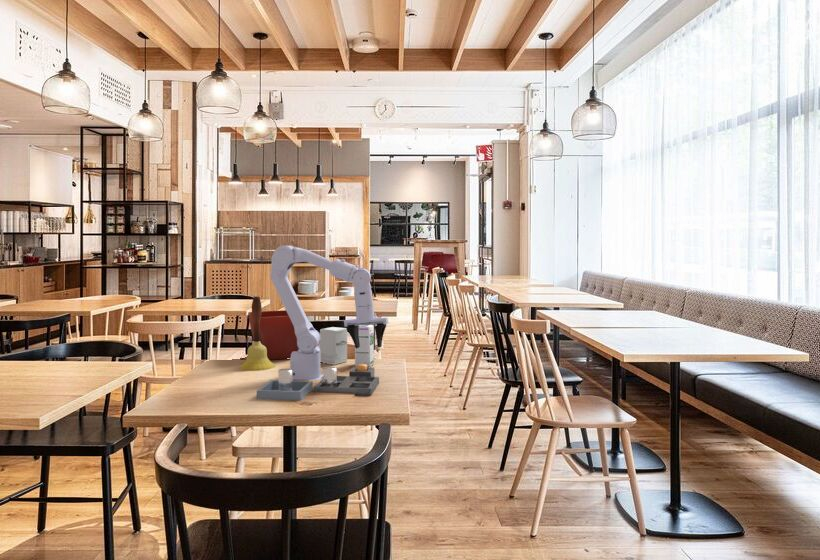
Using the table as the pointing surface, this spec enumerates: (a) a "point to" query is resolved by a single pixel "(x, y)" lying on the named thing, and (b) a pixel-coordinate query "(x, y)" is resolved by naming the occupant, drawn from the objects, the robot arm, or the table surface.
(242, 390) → the table surface
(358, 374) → the button housing
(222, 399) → the table surface
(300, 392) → the tote
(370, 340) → the syrup box
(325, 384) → the cylinder
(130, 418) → the table surface
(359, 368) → the button
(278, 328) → the plant pot
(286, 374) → the billet
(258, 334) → the handbell
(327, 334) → the supplement box
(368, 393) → the frame
